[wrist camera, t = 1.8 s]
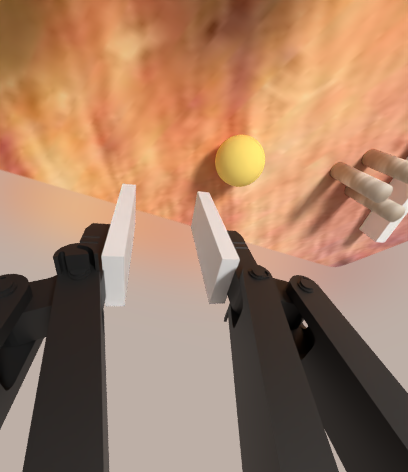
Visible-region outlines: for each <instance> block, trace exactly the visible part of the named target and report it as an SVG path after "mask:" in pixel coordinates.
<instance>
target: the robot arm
mask: <svg viewBox="0 0 408 472" xmlns="http://www.w3.org/2000/svg"><path fill="white" fill-rule="evenodd" d="M135 212H136V185H131V184H122V187H121V191H120V194H119V197H118V201H117V204H116V208H115V211H114V215H113V218H112V222H111V224H97V223H93V224H91V225H90V226H89V227H87V228H86V229H85V231H84V234H83V235H82V238H81V240H80V243H75V244H69V245H67V246H64V247H62V248H60V249H59V250H57V251H56V252H55V254H54V256H53V259H54V263H55V268H56V272H57V275H56V276H54V277H51V278H48V279H43V280H38V281H33V282H28V279H27V278H26V277H24V276H22V275H18V274H6V275H2V276H0V428H1V426H2V424H3V422H4V420H5V418H6V416H7V414H8V412H9V410H10V408H11V405H12V404H13V401H14V399H15V397H16V395H17V393H18V391H19V389H20V387H21V385H22V383H23V381H24V379H25V376H26V374H27V372H28V370H29V368H30V366H31V364H32V362H33V360H34V357H35V356H36V353H37V351H38V349H39V347H40V345H41V343H42V341H43V339H44V338H45V337H46V342H45V348H44V354H43V359H42V364H41V371H40V376H39V382H38V387H37V393H36V399H35V404H34V410H33V415H32V421H31V426H30V432H29V438H28V444H27V449H26V455H25V461H24V466H23V472H109V452H108V425H107V424H108V422H107V392H106V365H105V364H106V363H105V333H104V311H103V308H104V303H106V306H125V301H126V300H125V299H126V293H127V285H128V276H129V269H130V261H131V253H132V246H133V238H134V230H135ZM191 229H192V233H193V238H194V242H195V246H196V250H197V254H198V259H199V263H200V266H201V271H202V275H203V279H204V284H205V288H206V292H207V296H208V300H209V304H215V303H225V301H226V298H227V295H228V298H229V301H230V304H229V307H228V310H227V312H226V315H225V318H224V321H225V322H226V321H227V318H229V329H230V340H231V351H232V361H233V373H234V383H235V394H236V403H237V416H238V426H239V436H240V448H241V459H242V469H243V472H339V471H338V468H337V465H336V462H335V459H334V456H333V453H332V451H331V447H330V444H329V441H328V439H327V436H326V433H327V435H328V437H329V438H330V441H331V442H332V444H333V446H334V448H335V450H336V452H337V454H338V456H339V458H340V460H341V462H342V464H343V466H344V468H345V470H346V471H347V472H408V393H407V392H406V391H405V389H404V388H403V387H402V386H401V385H400V383H399V382H398V381H397V380H396V379H395V377H394V376H393V375H392V374H391V373H390V371H389V370H388V369H387V368H386V367H385V365H384V364H383V363H382V362H381V361H380V359H379V358H378V357H377V356H376V355H375V353H374V352H373V351H372V350H371V348H370V347H369V346H368V345H367V344H366V343H365V341H364V340H363V339H362V338H361V336H360V335H359V334H358V333H357V332H356V330H355V329H354V328H353V327H352V326H351V324H350V323H349V322H348V321H347V320H346V319H345V317H344V316H343V315H342V314H341V312H340V311H339V310H338V309H337V308H336V306H335V305H334V304H333V303H332V302H331V300H330V299H329V298H328V297H327V295H326V294H325V293H324V292H323V291H322V289H321V288H320V287H319V286H318V285H317V284H316V283H315V282H314V281H312V280H311V279H309V278H307V277H304V276H299V275H296V276H293V277H292V278H291V279H290V281H289V282H286V281H283V280H278V279H275V278H272V276H271V274H270V272H269V271H268V270H266V269H265V268H264V267H262V266H260V265H257V263H256V261H255V260H254V258H253V256H252V254H251V252H250V250H249V249H248V247H247V245H246V244H245V241H244V239H243V237H242V236H241V235H240V234H239V233H237V232H236V231H227V230H226V228H225V226H224V224H223V222H222V220H221V217H220V215H219V213H218V211H217V209H216V206H215V204H214V202H213V200H212V198H211V196H210V193H209V192H200V191H197V197H196V203H195V208H194V214H193V219H192V225H191ZM303 320H305V321H306V323H307V324H308V327H307V328H306V327H305V326H304V325H303V323H302V322H303ZM324 429H325V430H324ZM325 431H326V433H325Z"/></svg>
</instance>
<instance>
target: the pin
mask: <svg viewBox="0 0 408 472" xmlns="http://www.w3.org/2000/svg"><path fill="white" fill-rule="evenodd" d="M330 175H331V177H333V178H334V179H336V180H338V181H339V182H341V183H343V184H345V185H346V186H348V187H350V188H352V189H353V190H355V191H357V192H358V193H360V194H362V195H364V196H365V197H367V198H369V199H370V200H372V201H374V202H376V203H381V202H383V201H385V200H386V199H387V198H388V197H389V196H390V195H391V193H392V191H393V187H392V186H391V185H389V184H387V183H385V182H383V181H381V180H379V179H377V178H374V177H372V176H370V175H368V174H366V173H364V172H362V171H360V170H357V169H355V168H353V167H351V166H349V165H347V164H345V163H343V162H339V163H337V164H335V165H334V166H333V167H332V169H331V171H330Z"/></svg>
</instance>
